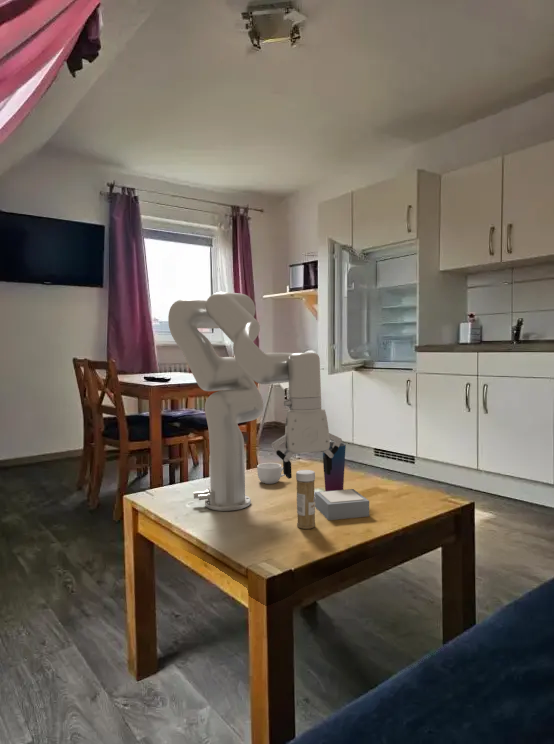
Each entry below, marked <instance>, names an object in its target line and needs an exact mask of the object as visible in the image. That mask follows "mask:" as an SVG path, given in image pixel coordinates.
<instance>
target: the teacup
mask: <svg viewBox="0 0 554 744" xmlns="http://www.w3.org/2000/svg"><path fill="white" fill-rule="evenodd" d="M256 468H257V469H256V471H257V472H256V473H257V477H258V480H259V481H260V482H261V483H263V484H264V483H265V484H266V485H273V484H277V483H278V482H279V481H280V479H281V478H282V477H284V476H285V475H284V473H283V474H282V472H283V464H281V463H277V462H264V463H263V462H262V463H259V464H258V465H256Z"/></svg>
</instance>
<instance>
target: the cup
mask: <svg viewBox="0 0 554 744" xmlns="http://www.w3.org/2000/svg"><path fill="white" fill-rule="evenodd" d="M333 443H334V441H330V448H331V447H332V446H333ZM346 445H347V444H346V443H345V442H342V441H341V444H340V446H339V448H338V451H337V452H336V453H335V454H334V456H333V458H332V470H330V473H331V474H330V475H327V474H326V473H324V472H323V478H324V489H325V490H324V491H335V490H344V486H345V485H344V484H345V483H344V482H345V465H346V449H347V448H346V447H347V446H346ZM330 448H329V449H330ZM324 456H325V454H324V453H323V452H322V458H323V457H324Z"/></svg>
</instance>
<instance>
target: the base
mask: <svg viewBox="0 0 554 744" xmlns="http://www.w3.org/2000/svg"><path fill="white" fill-rule="evenodd" d="M314 494H315V509H317V510H318V512H320V514H322V515H323V517H325V519H326V520H328V521H334V520H335V521H336V520H344V519H354V518H355V519H356V518H357V519H358V518H364V517H370V500H369V499H367V498H366V497H364V496H363V495H362V494H361V493H359V492H358V491H356V490H355V488H351V489H350V488H348V489H343V490H335V491H325V490H324V491H314Z"/></svg>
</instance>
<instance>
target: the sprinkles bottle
mask: <svg viewBox="0 0 554 744" xmlns="http://www.w3.org/2000/svg"><path fill="white" fill-rule="evenodd" d="M295 479H296V515H297V517H296V518H297V523H296V526H297V527H298V528H299V529H303V530H310V529H314V528H315V526H316V507H315V480H316V471H314V470H312V469H300V470H297V471H296V474H295Z"/></svg>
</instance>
